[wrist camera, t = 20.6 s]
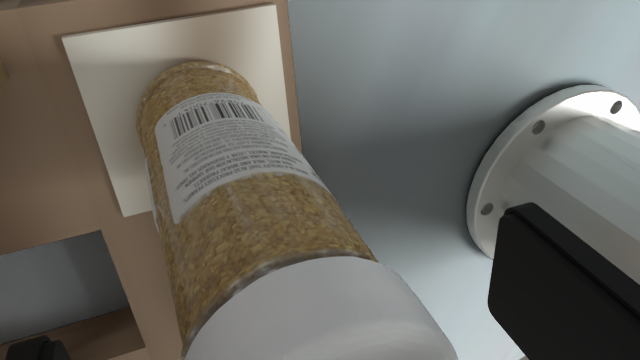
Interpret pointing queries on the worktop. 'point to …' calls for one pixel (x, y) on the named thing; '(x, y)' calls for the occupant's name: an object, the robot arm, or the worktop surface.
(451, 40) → the worktop surface
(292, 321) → the sprinkles bottle
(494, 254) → the robot arm
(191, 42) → the brown wooden frame
